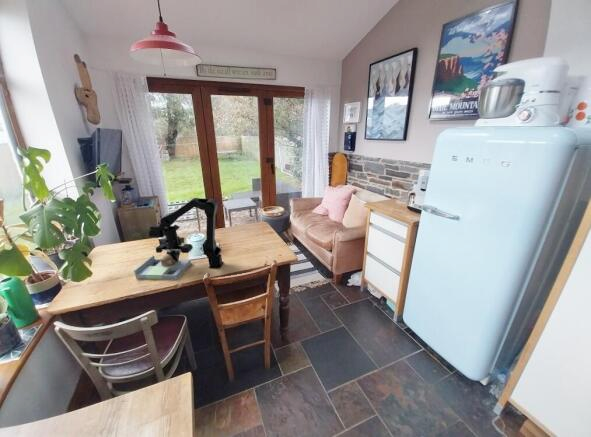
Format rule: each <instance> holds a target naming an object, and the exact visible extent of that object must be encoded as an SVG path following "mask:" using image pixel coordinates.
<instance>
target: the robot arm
mask: <svg viewBox="0 0 591 437" xmlns="http://www.w3.org/2000/svg"><path fill="white" fill-rule="evenodd" d="M218 207H219V202H218V201H217V199H215V198H199V197H193V198H192V199H191V200H189V201H188V202H187V203H185V204H184V205H182V206H181V207H179V208H178V209H176V210H174V211H171V212H169V213H167V214H166V215H164V216H163V217H161V218H160V220H159V221H160V223H159V225H151V226H149V230H148V231H149V232H148V237H149V238H151V239H159V238H163V237H164V236H166V240H165V242H167V244H159V245H158V246H156V248H155V253H157V254H158V253H159V254H160V253H163V251H165V250H166V254H169V255H170V256H171V257H172V258H173V259H174V260H175V261H176V262H178V260H180V259H179V258H180V255H181V253H183V254H188V253H190V252H191V251H192V250H193V248H194V247H193V244H191V243H185V237H180V236H178V232H177V231H178V230H179V229H180V228H181V227H180V225H178V224H174V223H176V221H177V220H179V218H181V217H182V216H184V214H186V213H188V212H189V211H191V210H193V208H196V209H198V210H201V211H204V214H205V217H206V230H205V231H206V233H205V234H206V238H205V240H204V241H203V243H202V252H203V254H204V255H205V256H206V258H207V260H208V265H209V266H208V269H221V267H222V265H224V261H223V258H222V254H221V252H222V248H220V247H219V246H218V245H217V241H216V238H215V235H216V215H217V214H216V213H217V211H218ZM173 224H174V225H173ZM166 254H165V255H166Z"/></svg>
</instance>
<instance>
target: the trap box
mask: <svg viewBox="0 0 591 437" xmlns="http://www.w3.org/2000/svg"><path fill="white" fill-rule="evenodd" d="M160 259H161V258H155V255H154V254H153V255H151V256H149V258H147V259H146V260H145V261H144V262H143V263H142V264H140V265H139V266H137V267H136V268H135V269H134V270H133V271H134V275H135V278H136V279H139V280H140V279H145V280H148V279H149V280H178V279H179V278H180V277H181V276H182V274H184V272H185V271H186V270H187V269H188V268H189V266H190V265H191V264H192V261H191V259H179V260H178V262H176V263H175V264H174V265H173V266H162V264H161V260H160Z"/></svg>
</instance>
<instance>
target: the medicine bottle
mask: <svg viewBox="0 0 591 437" xmlns="http://www.w3.org/2000/svg"><path fill="white" fill-rule="evenodd" d="M157 239H158V243H159V245H160V244H167V242H165V240H166V236H164V237H163V238H157Z"/></svg>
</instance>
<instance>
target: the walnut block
mask: <svg viewBox="0 0 591 437" xmlns="http://www.w3.org/2000/svg"><path fill="white" fill-rule="evenodd" d="M159 259H160V260H161V264H162V266H173V265H174V264H175V263H176V261H175V260H174V259H173V258H172V257H171V256H170V255H169V254H165V255H163V257H162V258H159Z"/></svg>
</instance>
